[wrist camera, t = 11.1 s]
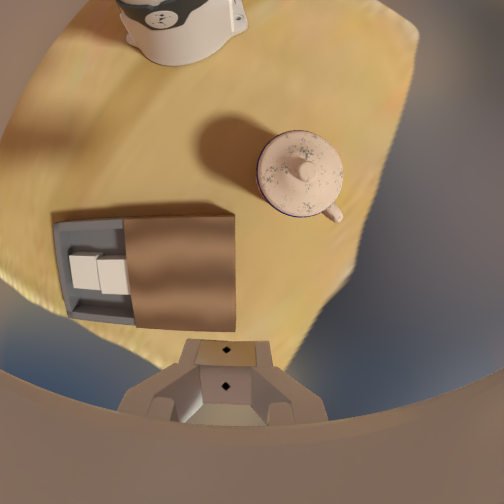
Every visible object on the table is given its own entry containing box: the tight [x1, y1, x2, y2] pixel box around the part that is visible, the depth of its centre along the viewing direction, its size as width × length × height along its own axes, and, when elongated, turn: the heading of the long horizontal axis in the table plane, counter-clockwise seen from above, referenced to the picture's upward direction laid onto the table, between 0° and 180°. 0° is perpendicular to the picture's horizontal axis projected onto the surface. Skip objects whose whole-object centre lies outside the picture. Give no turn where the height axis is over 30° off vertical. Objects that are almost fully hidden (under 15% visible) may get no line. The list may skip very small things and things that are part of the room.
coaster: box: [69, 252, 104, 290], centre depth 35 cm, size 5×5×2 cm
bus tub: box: [53, 216, 136, 326], centre depth 35 cm, size 15×13×4 cm
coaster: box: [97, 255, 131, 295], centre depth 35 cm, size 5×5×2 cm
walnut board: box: [124, 214, 236, 332], centre depth 35 cm, size 15×14×4 cm
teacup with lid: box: [256, 130, 343, 223], centre depth 29 cm, size 12×9×12 cm
